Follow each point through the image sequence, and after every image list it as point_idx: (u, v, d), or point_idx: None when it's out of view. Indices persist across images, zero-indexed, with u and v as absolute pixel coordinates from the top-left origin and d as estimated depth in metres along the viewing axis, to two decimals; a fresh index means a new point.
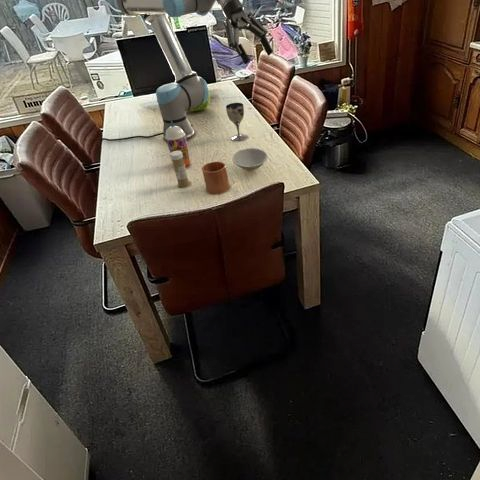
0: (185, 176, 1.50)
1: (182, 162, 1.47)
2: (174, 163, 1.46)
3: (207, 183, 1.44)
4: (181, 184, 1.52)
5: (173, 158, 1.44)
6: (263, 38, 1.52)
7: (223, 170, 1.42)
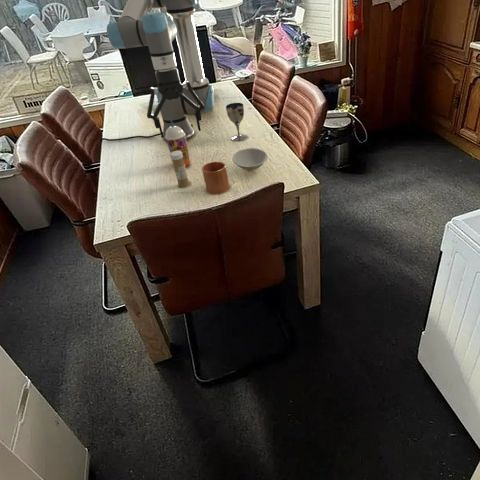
0: (185, 176, 1.50)
1: (182, 162, 1.47)
2: (174, 163, 1.46)
3: (207, 183, 1.44)
4: (181, 184, 1.52)
5: (173, 158, 1.44)
6: (195, 114, 1.38)
7: (223, 170, 1.42)
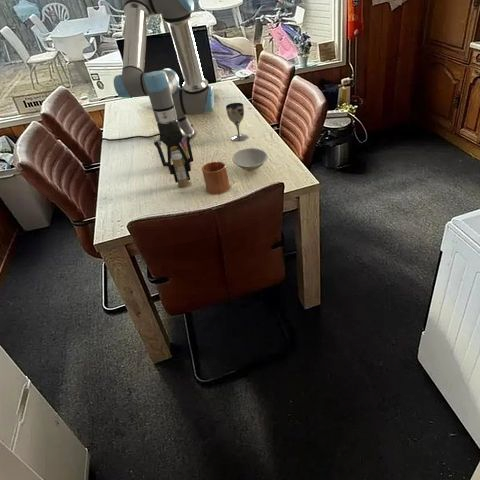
0: (185, 176, 1.50)
1: (182, 162, 1.47)
2: (174, 163, 1.46)
3: (207, 183, 1.44)
4: (181, 184, 1.52)
5: (173, 158, 1.44)
6: None
7: (223, 170, 1.42)
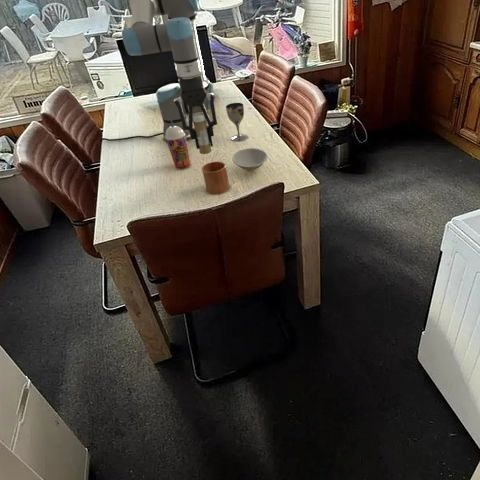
0: (207, 141, 1.36)
1: (205, 125, 1.33)
2: (196, 126, 1.32)
3: (207, 183, 1.44)
4: (203, 151, 1.38)
5: (195, 120, 1.30)
6: (207, 129, 1.34)
7: (223, 170, 1.42)
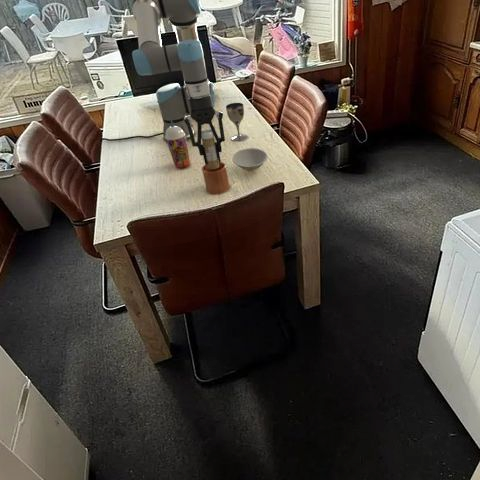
0: (215, 157, 1.40)
1: (213, 142, 1.36)
2: (204, 143, 1.35)
3: (207, 183, 1.44)
4: (211, 166, 1.41)
5: (204, 137, 1.34)
6: None
7: (223, 170, 1.42)
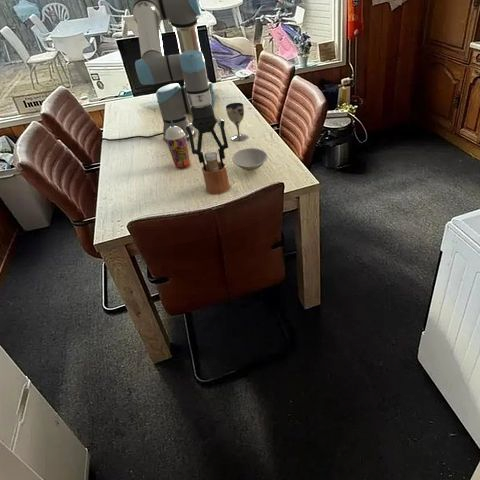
0: None
1: (217, 163, 1.42)
2: (208, 164, 1.41)
3: (207, 183, 1.44)
4: None
5: (208, 159, 1.39)
6: (219, 153, 1.40)
7: (223, 170, 1.42)
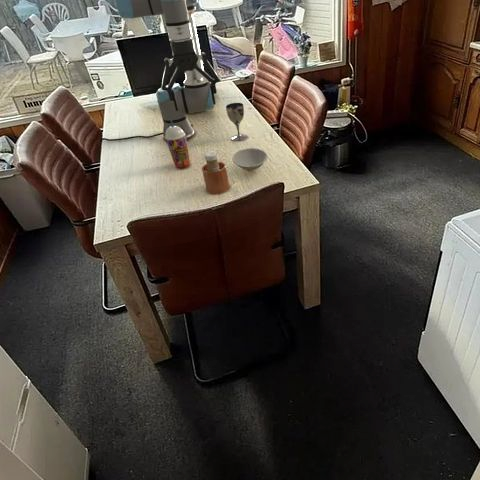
0: None
1: (217, 163, 1.42)
2: (208, 164, 1.41)
3: (207, 183, 1.44)
4: None
5: (208, 159, 1.39)
6: (210, 87, 1.35)
7: (223, 170, 1.42)
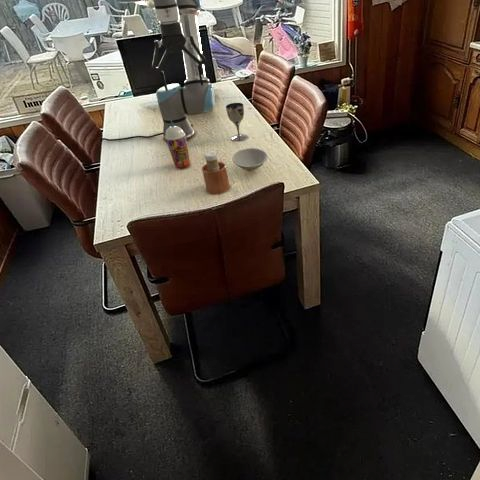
0: None
1: (217, 163, 1.42)
2: (208, 164, 1.41)
3: (207, 183, 1.44)
4: None
5: (208, 159, 1.39)
6: (197, 68, 1.44)
7: (223, 170, 1.42)
